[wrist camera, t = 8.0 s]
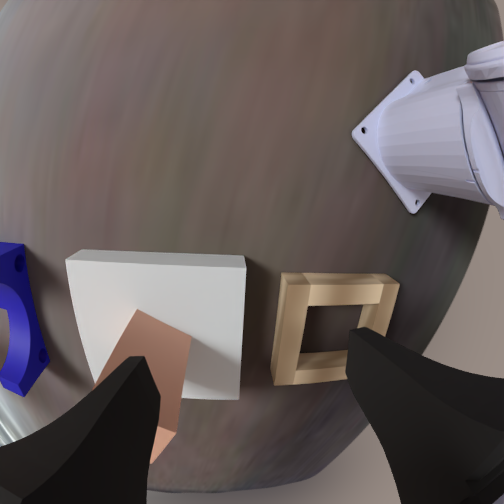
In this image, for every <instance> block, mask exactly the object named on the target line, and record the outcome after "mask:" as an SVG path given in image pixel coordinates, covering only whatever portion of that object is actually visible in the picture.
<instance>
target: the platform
mask: <svg viewBox="0 0 504 504" xmlns="http://www.w3.org/2000/svg"><path fill="white" fill-rule="evenodd" d="M65 261H66V268H67V275H68V281H69V287H70V292H71V298H72V303H73V307H74V312H75V316H76V321H77V325H78V329H79V333H80V337H81V340H82V344H83V347H84V351H85V354H86V357H87V361H88V364H89V367H90V370H91V373H92V376H93V379H94V382H95V383H96V382H97V380H98V378H99V376H100V374H101V372H102V370H103V368H104V366H105V364H106V362H107V361H108V359H109V357H110V355H111V353H112V351H113V350H114V348H115V346H116V344H117V342H118V341H119V339H120V337H121V335H122V334H123V332H124V330H125V328H126V327H127V325H128V323H129V322H130V320H131V318H132V316H133V315H134V313H135V311H136V310H137V309H138V310H140V311H142V312H144V313H146V314H148V315H150V316H152V317H154V318H155V319H157V320H159V321H161V322H163V323H165V324H167V325H169V326H171V327H173V328H175V329H177V330H180V331H182V332H184V333H186V334H188V335H190V336H192V338H191V344H190V349H189V355H188V361H187V367H186V373H185V379H184V385H183V391H182V398H194V399H216V400H239V390H240V371H241V353H242V336H243V318H244V301H245V284H246V263H245V259H244V256H242V255H214V254H187V253H160V252H134V251H109V250H85V249H82V250H80V251H78V252H77V253H75V254H74V255H72V256H70V257H69V258H67V259H65Z"/></svg>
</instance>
